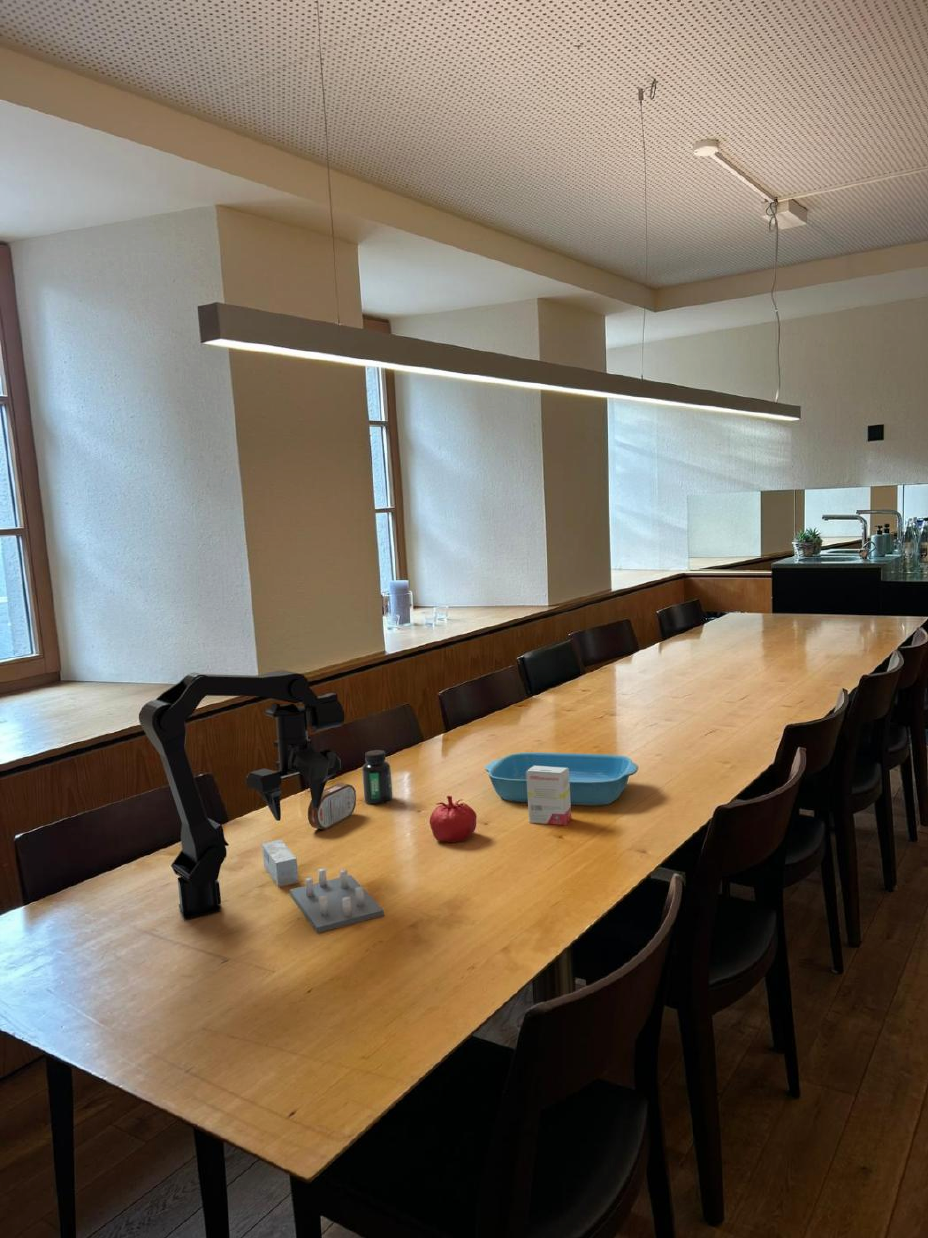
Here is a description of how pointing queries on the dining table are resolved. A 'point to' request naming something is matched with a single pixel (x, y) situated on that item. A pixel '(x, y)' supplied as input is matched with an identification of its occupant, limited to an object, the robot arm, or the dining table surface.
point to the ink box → (548, 795)
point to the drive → (280, 862)
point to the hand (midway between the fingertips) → (297, 814)
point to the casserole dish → (588, 775)
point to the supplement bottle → (377, 778)
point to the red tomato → (453, 821)
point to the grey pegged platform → (335, 902)
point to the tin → (333, 806)
